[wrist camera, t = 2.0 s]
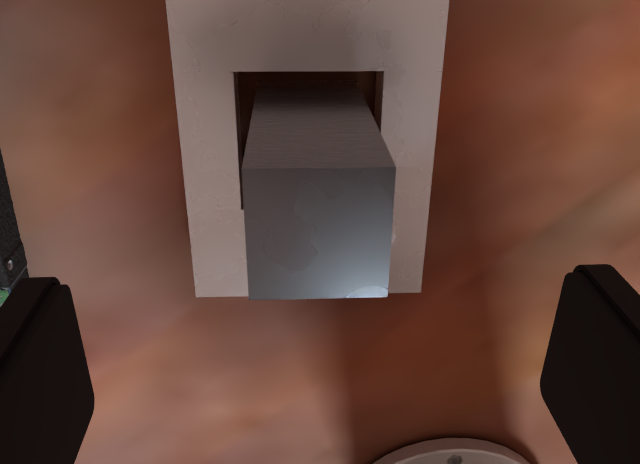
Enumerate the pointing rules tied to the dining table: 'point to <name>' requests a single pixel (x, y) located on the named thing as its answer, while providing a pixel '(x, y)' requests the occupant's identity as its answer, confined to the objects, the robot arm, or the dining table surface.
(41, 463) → the robot arm
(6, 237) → the disk drive
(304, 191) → the steel block
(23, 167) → the dining table surface
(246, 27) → the grey slotted board
